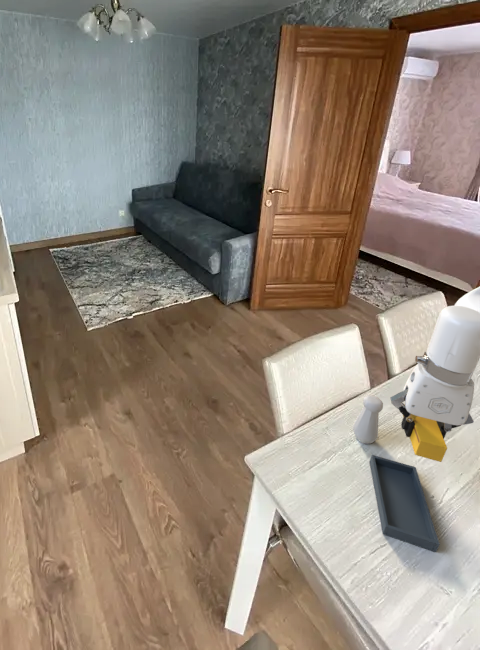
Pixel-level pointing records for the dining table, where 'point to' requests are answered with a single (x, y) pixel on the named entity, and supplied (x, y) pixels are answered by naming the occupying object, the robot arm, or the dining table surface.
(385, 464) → the tray
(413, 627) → the dining table surface
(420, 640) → the dining table surface
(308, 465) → the dining table surface
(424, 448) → the block
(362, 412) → the salt shaker
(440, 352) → the robot arm
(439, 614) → the dining table surface
